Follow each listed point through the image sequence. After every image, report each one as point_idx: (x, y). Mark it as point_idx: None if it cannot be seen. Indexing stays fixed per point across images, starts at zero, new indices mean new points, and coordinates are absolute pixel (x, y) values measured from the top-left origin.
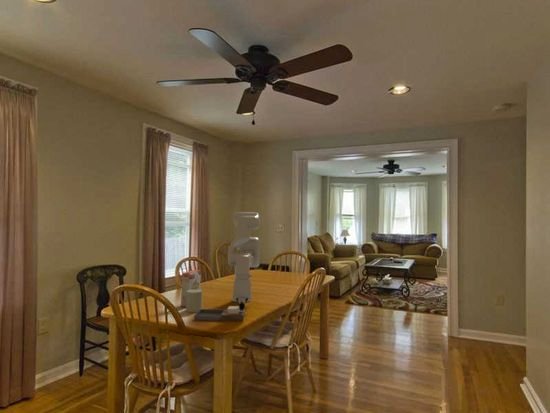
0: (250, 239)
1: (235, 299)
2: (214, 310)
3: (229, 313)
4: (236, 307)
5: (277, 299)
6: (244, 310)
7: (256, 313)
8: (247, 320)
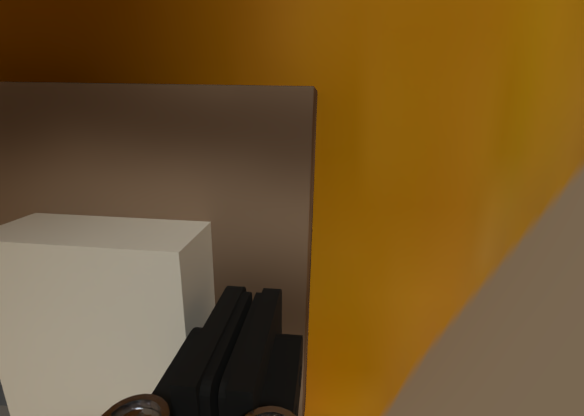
0: None
1: None
2: None
3: None
4: (137, 339)
5: None
6: (302, 215)
7: (515, 42)
8: (353, 377)
